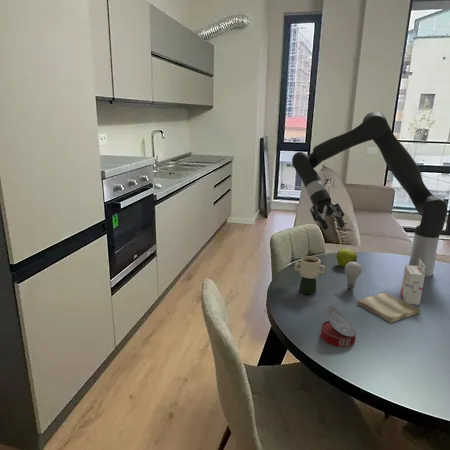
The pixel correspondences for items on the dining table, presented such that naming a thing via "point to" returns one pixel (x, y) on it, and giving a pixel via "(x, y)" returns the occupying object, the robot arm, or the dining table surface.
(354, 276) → the lightbulb
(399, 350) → the dining table surface
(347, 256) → the apple
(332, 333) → the canned food
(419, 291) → the ink cartridge box
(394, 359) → the dining table surface
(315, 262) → the character mug
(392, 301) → the birch board
